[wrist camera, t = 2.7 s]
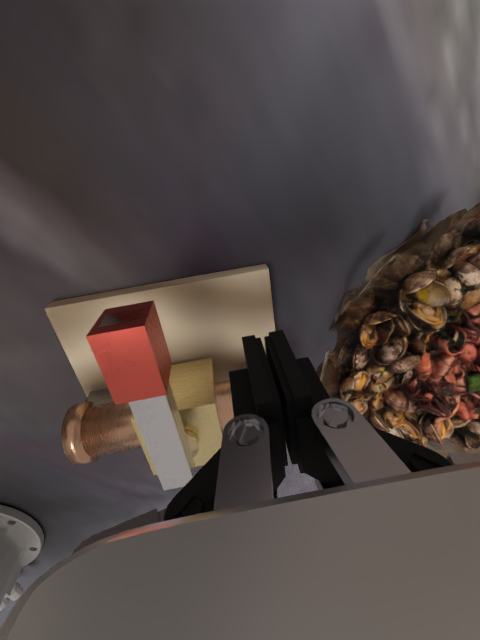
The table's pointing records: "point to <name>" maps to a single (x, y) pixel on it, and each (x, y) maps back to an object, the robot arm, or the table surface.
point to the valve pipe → (122, 430)
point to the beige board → (177, 319)
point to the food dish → (416, 339)
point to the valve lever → (144, 384)
